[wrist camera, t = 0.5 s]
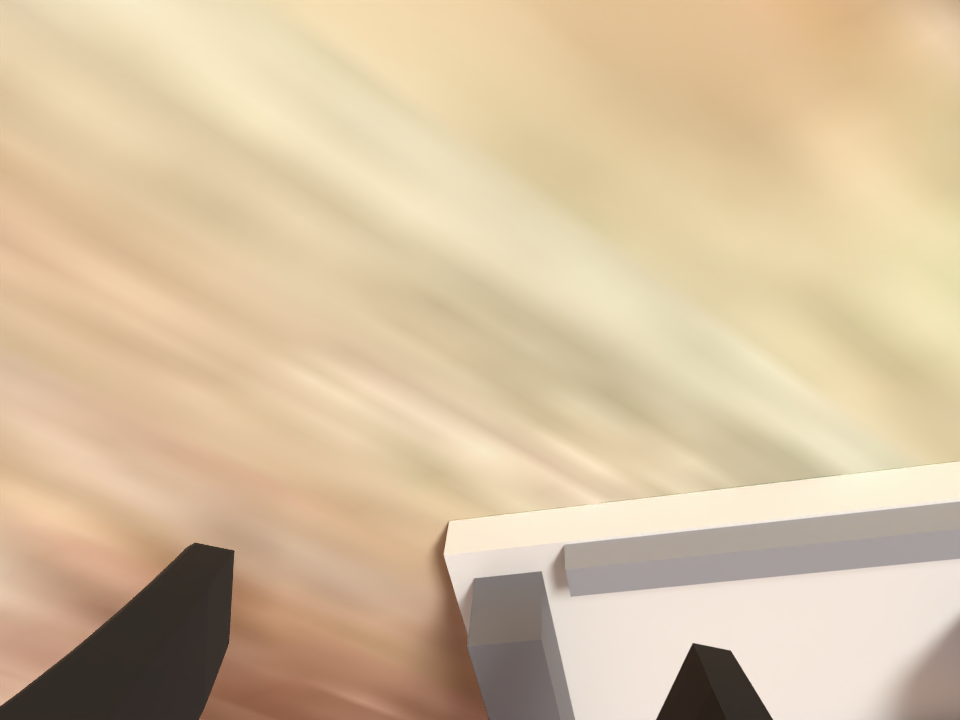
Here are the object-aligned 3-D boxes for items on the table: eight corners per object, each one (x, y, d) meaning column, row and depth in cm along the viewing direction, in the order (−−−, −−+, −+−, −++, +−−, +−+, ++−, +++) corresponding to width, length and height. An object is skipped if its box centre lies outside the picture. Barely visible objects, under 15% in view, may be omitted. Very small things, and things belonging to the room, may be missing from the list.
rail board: (1222, 683, 24) (1337, 807, 21) (510, 732, 28) (505, 845, 24) (1311, 420, 20) (1478, 521, 16) (449, 521, 23) (432, 621, 20)
